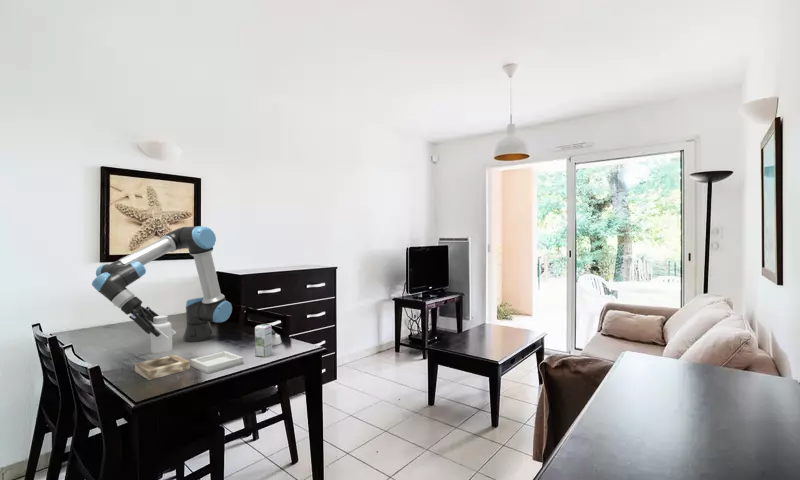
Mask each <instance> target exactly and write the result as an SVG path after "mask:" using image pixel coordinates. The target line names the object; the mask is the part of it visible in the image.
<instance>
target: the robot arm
mask: <svg viewBox="0 0 800 480" xmlns="http://www.w3.org/2000/svg"><path fill="white" fill-rule="evenodd" d="M216 242H217V239H216V234H215V232H214V230H212V228H210V227H207V226H201V225H198V226H182V227H178V228H177V229H174V230H172V231H169V232H168V233H166V234H164V235H162V236H161V237H160V239H158V240H156V241H154V242H151V243H150V244H148V245H146V246H144V247H142V248H140V249H138V250H136V251H134V252H132V253H130V254H128V255H126V256H123V257H121V258H120V259H118V260H116V261H113V262H111V263H107V264H102V265H100V266H98V267H97V268H96V271H95V275H96V277H95V278H94V279H93V280H92V282H91V286H92V287H93V289H95V290H96V291H97V292H98V293H99V294H101V295H102V296H104V297H105V298H106V300H109V302H111V304H113V306H115V307H117V308H118V309H120V311H121V312H123V313H124V314H125V315H129V319H131V320H133V322H134V323H135V324H137V326H139V328H141V330H143V331H144V332H145V333H146V334H148V335H150V333H152V334H153V335H154V336H156V337H157V338H158V339H159V340H160V341H162V342H163V343H164V342H165V341H166V340H167V339H168V338H169V337H167V336H166V335H165V334H164V333H163V332H161V331H160V330H159V329H158V328H155V327H154V326H153V325H152V324H153V323H154V321H153V318H154V317H156V316H160V315H159V314H158V313H156V312H155V310H152V309H151V307H150V306H146V307H144V306H142V304H143V301H142V300H141V299H140V298H139V297H137V296H135V294H134V293H133V292H132V291H130V289H128V288H127V287H128V286H129V285H132V284H133V283H134V282H136V281H137V280H139V279H141V278H142V277H143V276H144V275H145V274H146V272H147V269H146V267H145V265H147V264H149V263H151V262H152V261H155V260H156V259H158V258H160V257H162V256H164V255H166V254H167V253H169V252H170V253H174V252H175V251H177V250H185V249H187V250H188V253H189V255H190V256H192V257H193V259H194V263H195V268H196V271H197V275H198V280H199V283H200V286H201V290H202V295H203V297H196V298H190V299H188V300H187V301H186V305H185V315H186V317H185V319H186V327H185V331H184V333H183V336H182V337H183V338H182V339H183V341H184V342H188V343H189V342H190V343H194V342H203V341H207V340H212V339H213V338H214V332H213V328H212V326H211V323H210V322H212V323H223V322H226V321H227V320H228V319H229V318H230V316H231V314H232V312H233V306H232V303H231V302H229V301H228V300H226V296H225V295H224V294H223V293H221V288H220V284H219V280H218V277H217V271H216V267H215V262H214V258H213V255H212V252H213V251H214V247H215V244H216ZM176 333H177V332H176V331H175V329H173V328H172V337H174V335H176Z"/></svg>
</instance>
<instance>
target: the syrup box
mask: <svg viewBox="0 0 800 480" xmlns="http://www.w3.org/2000/svg"><path fill="white" fill-rule="evenodd" d="M272 329H273V328H272V325H271V324H257V325H256V326H255V327H254V344H255V346H254V347H255V351H254V352H255V357H262V358H267V357H269V356H271V355H273V345H272Z"/></svg>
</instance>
